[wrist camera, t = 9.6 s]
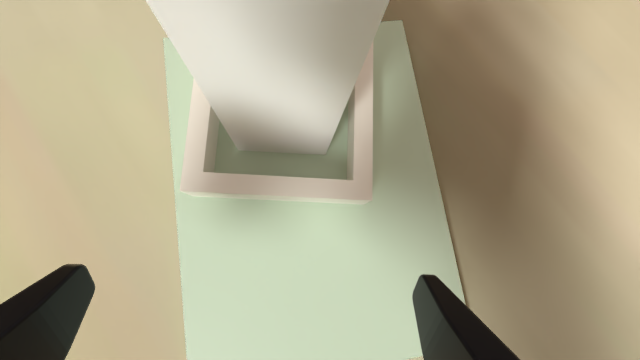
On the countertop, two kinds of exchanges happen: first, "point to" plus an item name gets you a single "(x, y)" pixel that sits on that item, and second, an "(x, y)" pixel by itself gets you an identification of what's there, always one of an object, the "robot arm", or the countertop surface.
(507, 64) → the countertop surface
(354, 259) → the board
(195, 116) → the white square frame
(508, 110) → the countertop surface
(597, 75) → the countertop surface
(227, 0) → the plug
